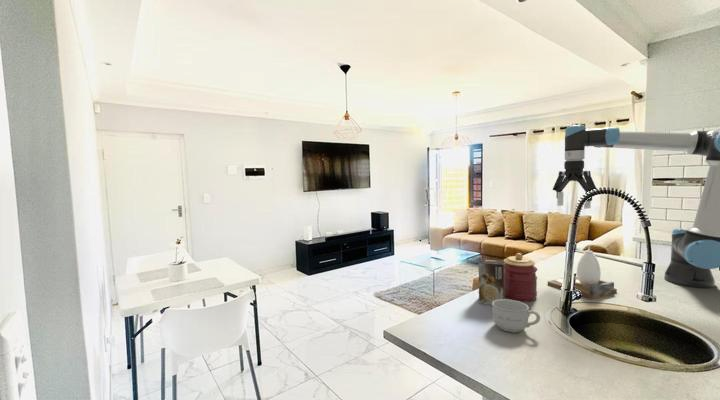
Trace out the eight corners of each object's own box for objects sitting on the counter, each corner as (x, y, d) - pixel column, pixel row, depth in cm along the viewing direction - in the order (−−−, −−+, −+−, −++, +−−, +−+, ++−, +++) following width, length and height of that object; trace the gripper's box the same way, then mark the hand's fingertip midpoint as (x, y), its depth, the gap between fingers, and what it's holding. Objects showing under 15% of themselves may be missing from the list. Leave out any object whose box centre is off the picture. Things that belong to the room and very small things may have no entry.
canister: (544, 299, 126) (545, 254, 124) (519, 304, 121) (519, 259, 120) (518, 288, 138) (518, 247, 136) (494, 292, 133) (494, 251, 132)
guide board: (573, 279, 146) (573, 269, 146) (616, 292, 129) (617, 281, 129) (547, 284, 141) (547, 274, 140) (589, 299, 124) (589, 288, 123)
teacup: (485, 327, 105) (485, 303, 104) (502, 317, 112) (503, 294, 111) (529, 344, 94) (529, 318, 93) (545, 332, 101) (546, 307, 100)
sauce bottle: (593, 284, 135) (595, 242, 133) (603, 291, 127) (605, 246, 126) (573, 283, 136) (574, 242, 135) (581, 290, 129) (583, 246, 127)
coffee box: (503, 300, 126) (504, 260, 124) (504, 306, 120) (504, 264, 119) (479, 297, 129) (478, 258, 128) (478, 303, 123) (478, 262, 122)
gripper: (544, 161, 156) (544, 204, 158) (594, 159, 132) (593, 210, 134) (557, 161, 158) (556, 204, 160) (608, 158, 134) (606, 209, 136)
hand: (573, 206), depth 147 cm, fingers open, 13 cm apart
